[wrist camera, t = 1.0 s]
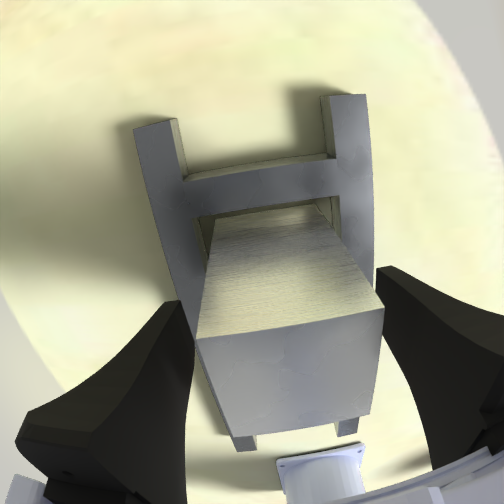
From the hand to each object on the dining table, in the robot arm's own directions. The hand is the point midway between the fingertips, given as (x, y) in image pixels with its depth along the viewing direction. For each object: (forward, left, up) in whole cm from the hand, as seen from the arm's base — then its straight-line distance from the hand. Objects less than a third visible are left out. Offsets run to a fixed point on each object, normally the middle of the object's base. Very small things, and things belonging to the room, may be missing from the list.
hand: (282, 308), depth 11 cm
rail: (-4, 0, -4) cm, 6 cm away
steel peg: (0, 0, -4) cm, 4 cm away
